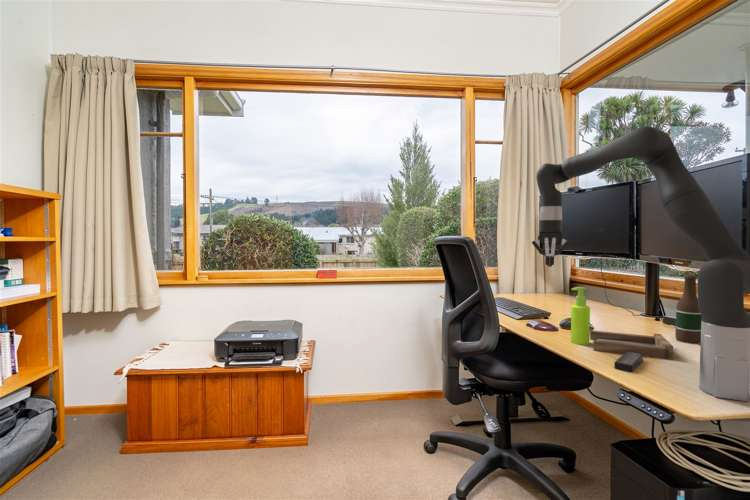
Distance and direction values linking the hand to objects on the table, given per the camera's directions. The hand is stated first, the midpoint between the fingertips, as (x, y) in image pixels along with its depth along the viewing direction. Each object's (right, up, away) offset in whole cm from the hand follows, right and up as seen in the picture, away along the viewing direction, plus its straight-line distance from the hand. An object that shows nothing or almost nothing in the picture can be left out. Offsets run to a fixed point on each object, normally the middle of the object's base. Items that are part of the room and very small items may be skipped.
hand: (549, 266), depth 140 cm
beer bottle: (+50, -27, -1) cm, 57 cm away
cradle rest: (+22, -28, -9) cm, 37 cm away
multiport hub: (+12, -29, -25) cm, 40 cm away
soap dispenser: (+9, -28, -3) cm, 29 cm away
